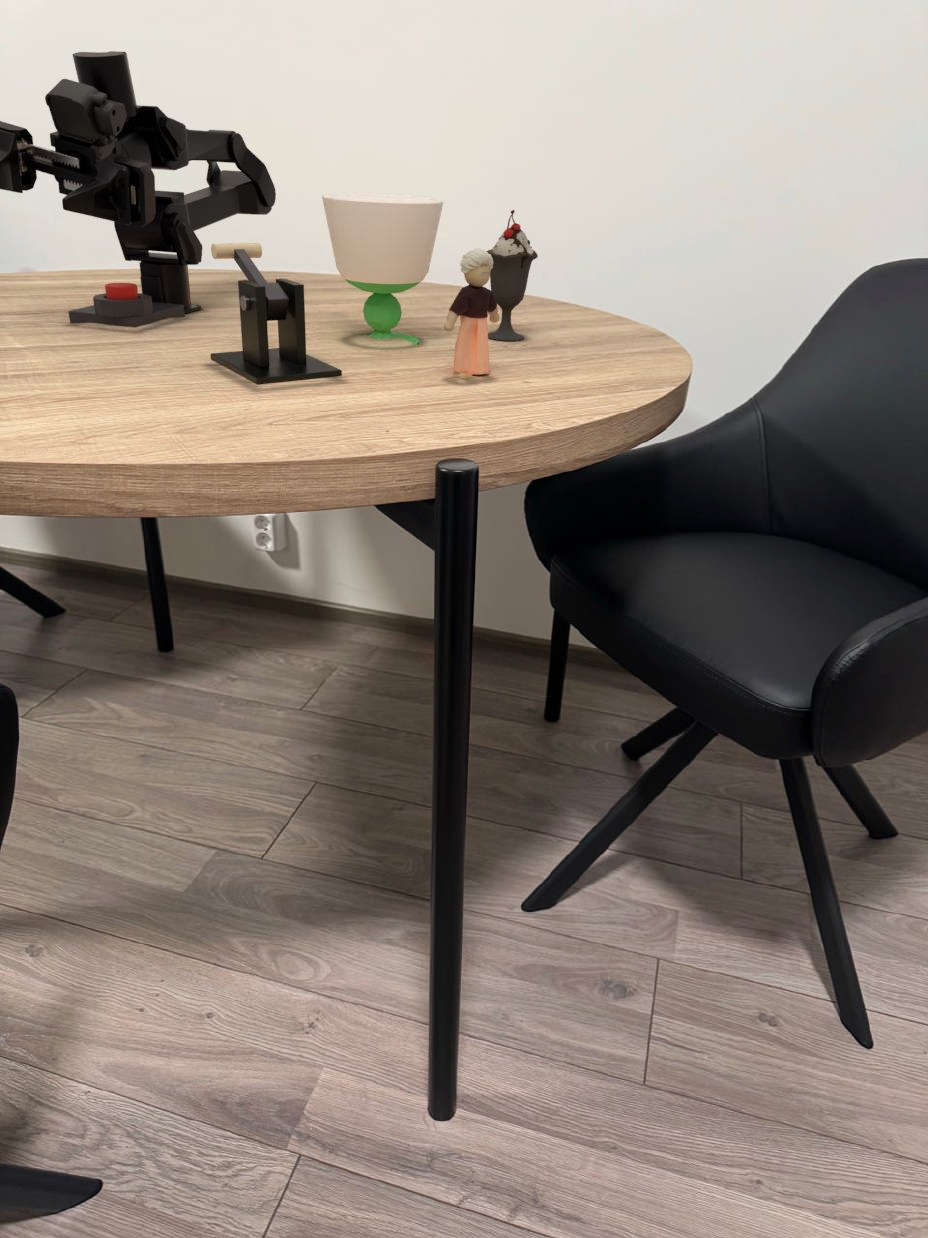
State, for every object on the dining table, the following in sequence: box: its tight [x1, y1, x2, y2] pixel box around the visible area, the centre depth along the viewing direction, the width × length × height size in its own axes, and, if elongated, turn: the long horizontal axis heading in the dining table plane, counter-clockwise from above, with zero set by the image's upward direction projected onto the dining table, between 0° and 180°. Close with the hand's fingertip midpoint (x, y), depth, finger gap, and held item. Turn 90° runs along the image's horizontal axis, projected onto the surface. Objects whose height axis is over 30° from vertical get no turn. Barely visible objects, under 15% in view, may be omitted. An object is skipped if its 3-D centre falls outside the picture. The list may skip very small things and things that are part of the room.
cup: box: [321, 192, 444, 345], centre depth 106 cm, size 14×14×16 cm
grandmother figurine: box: [443, 247, 501, 379], centre depth 92 cm, size 8×4×13 cm, turn 148°
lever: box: [210, 242, 289, 322], centre depth 92 cm, size 11×5×2 cm, turn 34°
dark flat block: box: [67, 292, 186, 328], centre depth 112 cm, size 12×9×4 cm
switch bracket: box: [210, 278, 343, 386], centre depth 91 cm, size 12×9×9 cm
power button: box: [104, 282, 139, 300], centre depth 109 cm, size 4×4×2 cm
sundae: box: [485, 209, 539, 342], centre depth 112 cm, size 7×7×15 cm
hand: (22, 192), depth 93 cm, fingers open, 9 cm apart
